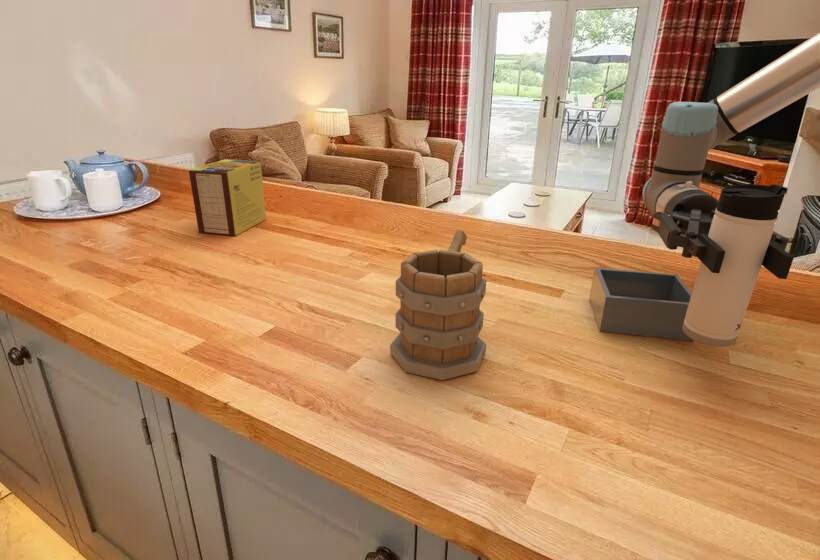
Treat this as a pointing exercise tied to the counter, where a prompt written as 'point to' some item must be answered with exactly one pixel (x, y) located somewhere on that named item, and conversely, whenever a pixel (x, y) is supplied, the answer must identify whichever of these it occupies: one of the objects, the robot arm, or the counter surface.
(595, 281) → the holder
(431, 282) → the tankard
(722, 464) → the counter surface
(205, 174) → the protein box
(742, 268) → the travel mug
